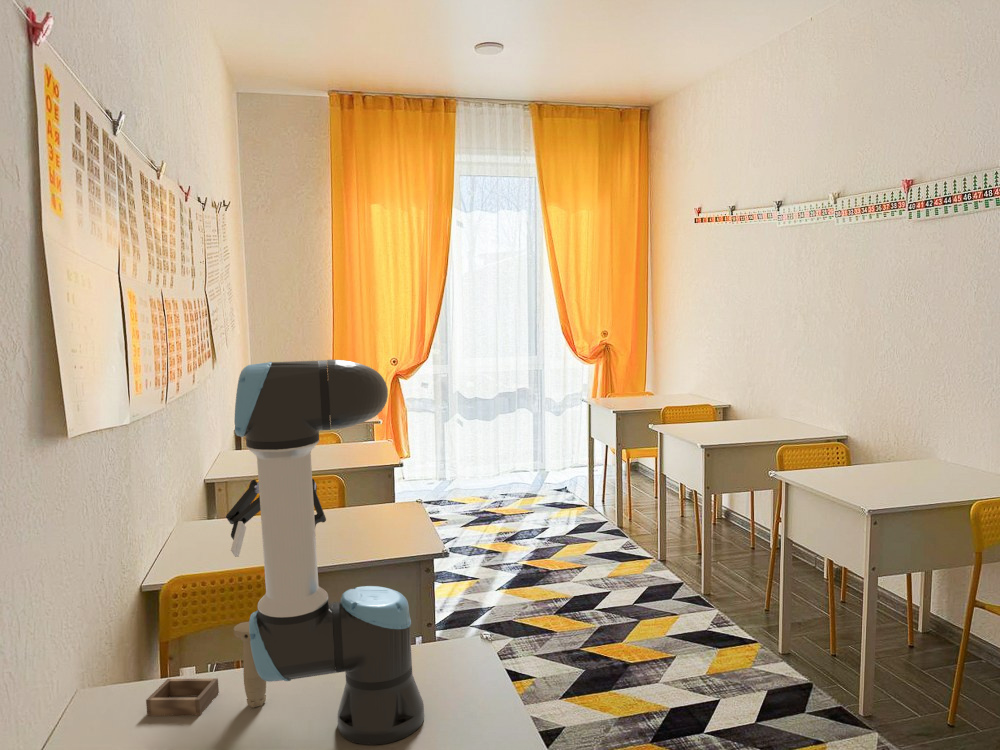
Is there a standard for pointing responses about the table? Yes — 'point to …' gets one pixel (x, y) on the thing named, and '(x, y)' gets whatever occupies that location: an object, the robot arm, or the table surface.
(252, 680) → the handle
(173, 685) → the socket block
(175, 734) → the table surface
